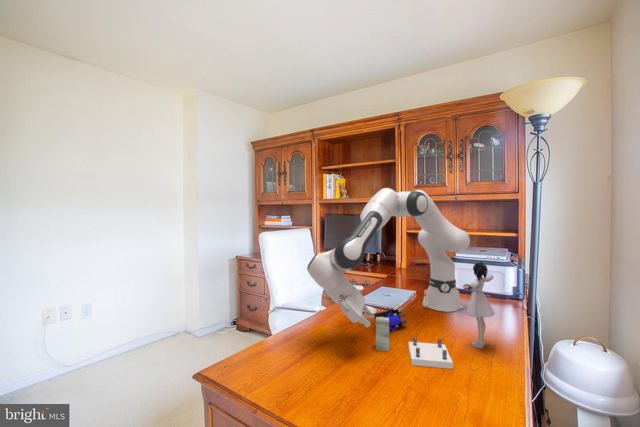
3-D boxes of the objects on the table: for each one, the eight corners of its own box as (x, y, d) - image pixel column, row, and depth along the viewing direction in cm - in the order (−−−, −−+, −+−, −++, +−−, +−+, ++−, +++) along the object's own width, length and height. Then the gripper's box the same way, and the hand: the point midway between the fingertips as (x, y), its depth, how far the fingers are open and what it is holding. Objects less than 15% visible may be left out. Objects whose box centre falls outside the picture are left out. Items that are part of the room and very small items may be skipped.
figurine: (479, 332, 116) (479, 256, 116) (504, 339, 110) (504, 259, 110) (454, 355, 99) (454, 265, 98) (481, 364, 93) (482, 269, 92)
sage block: (376, 344, 108) (376, 316, 107) (388, 345, 107) (388, 317, 106) (375, 350, 103) (375, 321, 103) (389, 351, 102) (389, 322, 102)
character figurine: (410, 329, 121) (380, 337, 114) (397, 322, 127) (369, 329, 120) (411, 310, 120) (381, 318, 113) (398, 304, 127) (370, 310, 120)
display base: (408, 347, 105) (408, 334, 105) (444, 350, 103) (444, 337, 102) (411, 365, 93) (411, 351, 93) (452, 369, 91) (452, 354, 91)
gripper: (344, 294, 97) (375, 326, 95) (351, 279, 117) (376, 305, 115) (331, 307, 98) (361, 339, 96) (339, 289, 118) (365, 315, 116)
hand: (369, 320), depth 106 cm, fingers open, 8 cm apart
